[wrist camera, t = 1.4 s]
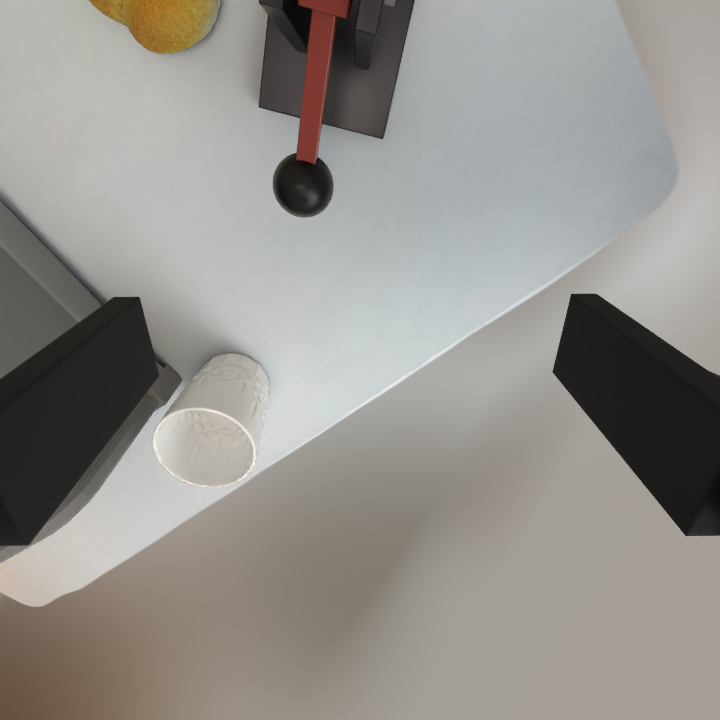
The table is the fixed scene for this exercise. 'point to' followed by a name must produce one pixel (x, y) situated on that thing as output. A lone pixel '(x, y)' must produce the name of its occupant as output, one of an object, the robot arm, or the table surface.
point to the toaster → (42, 326)
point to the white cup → (215, 423)
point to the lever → (311, 119)
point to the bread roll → (163, 21)
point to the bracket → (337, 62)
